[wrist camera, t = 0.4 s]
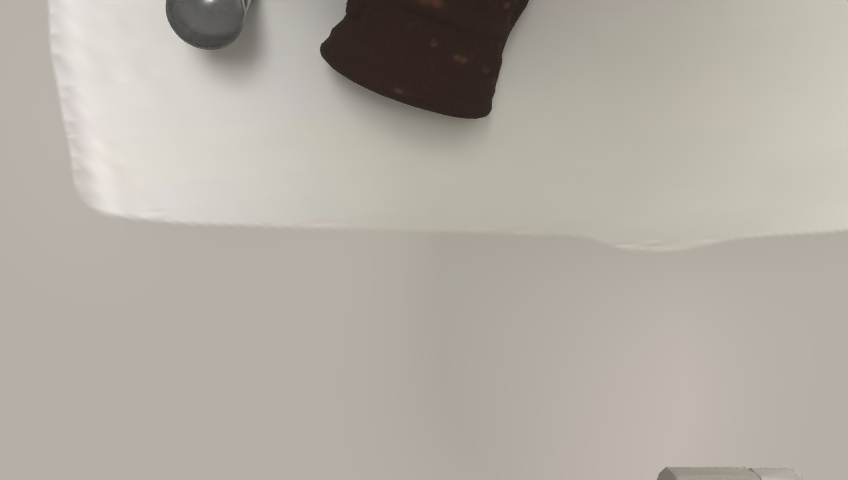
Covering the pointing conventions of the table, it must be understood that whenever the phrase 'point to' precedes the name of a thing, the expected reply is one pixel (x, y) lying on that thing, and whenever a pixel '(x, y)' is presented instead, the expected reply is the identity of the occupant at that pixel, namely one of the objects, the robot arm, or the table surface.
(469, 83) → the pipe
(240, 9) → the container
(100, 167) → the table surface
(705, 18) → the table surface
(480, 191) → the table surface
